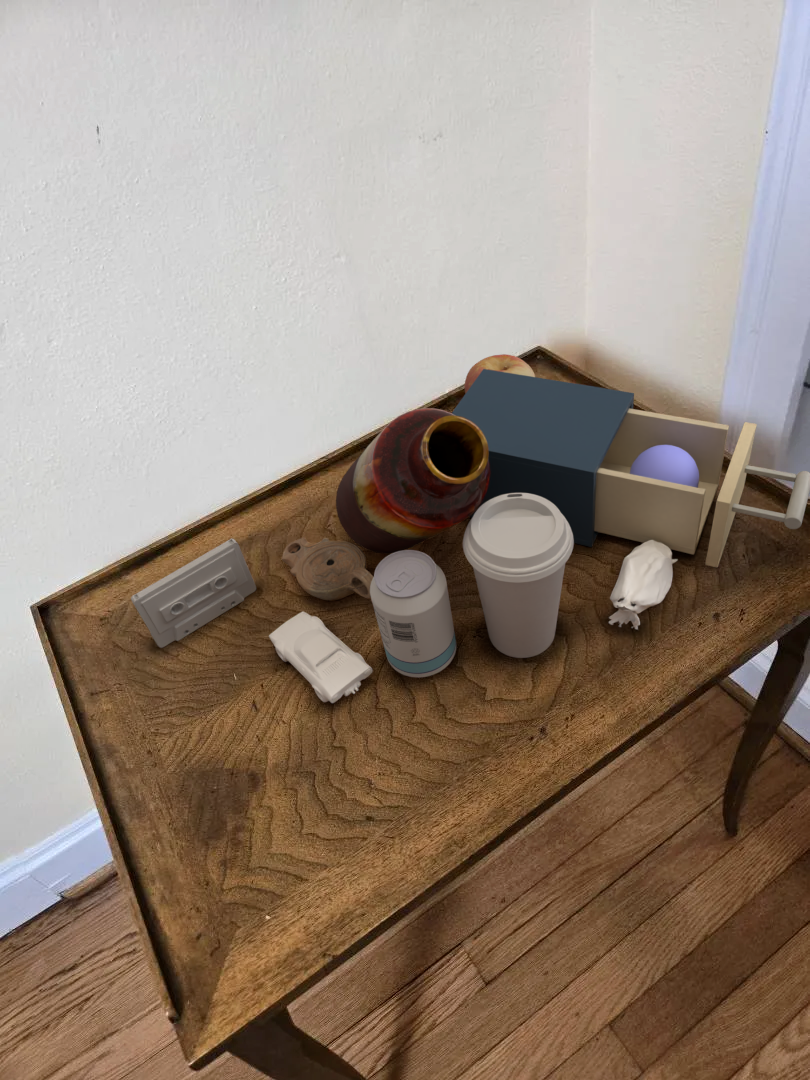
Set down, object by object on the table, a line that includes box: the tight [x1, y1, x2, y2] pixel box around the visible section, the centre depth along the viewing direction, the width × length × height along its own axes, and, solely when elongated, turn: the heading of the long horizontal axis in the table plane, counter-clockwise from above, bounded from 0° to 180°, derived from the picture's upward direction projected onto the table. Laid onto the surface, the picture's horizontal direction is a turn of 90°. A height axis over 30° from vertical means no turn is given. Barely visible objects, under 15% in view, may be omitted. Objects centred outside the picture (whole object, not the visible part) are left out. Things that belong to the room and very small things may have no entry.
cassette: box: [130, 538, 257, 649], centre depth 84 cm, size 12×2×8 cm, turn 127°
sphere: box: [630, 445, 699, 488], centre depth 83 cm, size 7×7×7 cm
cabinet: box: [451, 369, 635, 548], centre depth 89 cm, size 18×14×11 cm
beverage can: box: [370, 549, 457, 678], centre depth 75 cm, size 7×7×12 cm
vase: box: [335, 407, 490, 555], centre depth 78 cm, size 11×11×26 cm
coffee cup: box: [462, 493, 575, 659], centre depth 74 cm, size 10×10×15 cm
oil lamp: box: [281, 536, 374, 601], centre depth 85 cm, size 13×8×5 cm, turn 47°
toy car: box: [268, 611, 373, 704], centre depth 79 cm, size 6×12×3 cm, turn 41°
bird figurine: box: [608, 540, 679, 631], centre depth 78 cm, size 5×7×10 cm
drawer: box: [594, 408, 810, 568], centre depth 83 cm, size 23×12×9 cm, turn 63°
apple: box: [464, 353, 536, 395], centre depth 101 cm, size 9×9×8 cm
